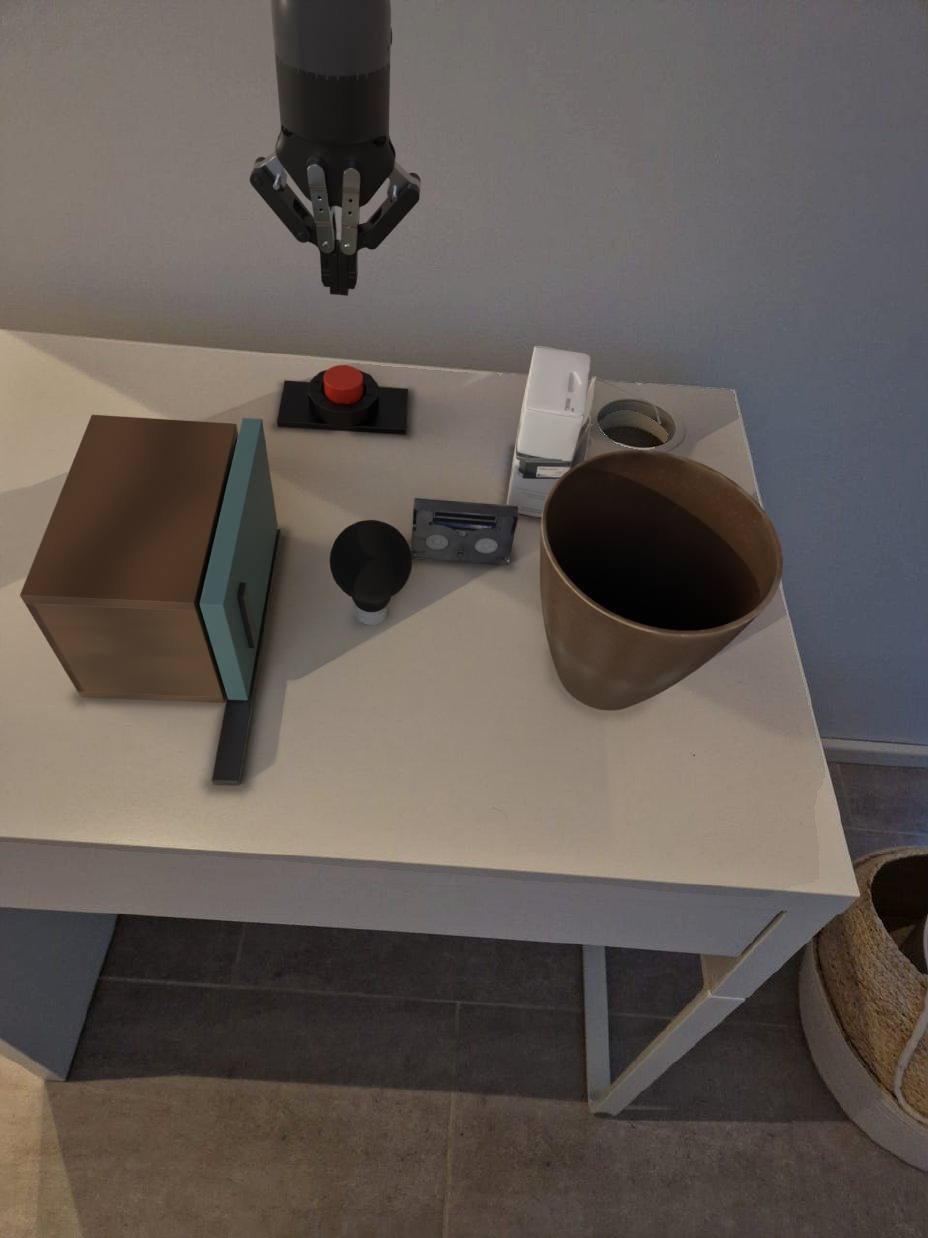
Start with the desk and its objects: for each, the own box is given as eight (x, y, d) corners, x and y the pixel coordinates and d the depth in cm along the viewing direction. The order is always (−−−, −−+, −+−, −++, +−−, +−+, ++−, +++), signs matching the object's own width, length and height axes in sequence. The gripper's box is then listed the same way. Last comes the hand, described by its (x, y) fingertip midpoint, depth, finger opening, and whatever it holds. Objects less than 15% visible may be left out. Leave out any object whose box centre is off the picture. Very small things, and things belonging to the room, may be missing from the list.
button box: (277, 428, 74) (274, 407, 72) (285, 384, 78) (283, 362, 76) (405, 436, 75) (406, 416, 73) (408, 392, 79) (408, 371, 77)
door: (227, 699, 56) (199, 604, 47) (260, 524, 66) (242, 417, 56) (254, 700, 56) (230, 605, 47) (282, 526, 66) (268, 419, 57)
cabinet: (55, 781, 52) (-18, 688, 43) (134, 526, 65) (92, 411, 56) (239, 786, 53) (209, 696, 44) (281, 534, 66) (265, 422, 57)
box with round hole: (577, 404, 80) (596, 364, 76) (655, 430, 81) (677, 392, 77) (563, 501, 72) (584, 462, 68) (649, 529, 73) (674, 492, 69)
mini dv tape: (507, 552, 68) (518, 502, 63) (508, 565, 67) (518, 516, 62) (411, 544, 67) (414, 494, 62) (410, 558, 66) (413, 508, 61)
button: (322, 403, 73) (321, 388, 72) (326, 378, 75) (325, 363, 74) (361, 406, 74) (361, 390, 72) (364, 381, 76) (364, 365, 74)
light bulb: (338, 586, 64) (333, 499, 56) (411, 592, 64) (416, 506, 56) (329, 646, 60) (321, 563, 52) (406, 652, 61) (410, 570, 53)
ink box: (513, 448, 75) (533, 340, 66) (564, 456, 75) (592, 350, 66) (503, 512, 70) (523, 406, 61) (558, 522, 70) (587, 417, 61)
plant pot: (680, 788, 56) (771, 668, 43) (481, 719, 58) (511, 585, 45) (710, 628, 65) (793, 488, 52) (536, 572, 67) (575, 424, 54)
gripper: (218, 57, 49) (252, 309, 63) (432, 81, 50) (418, 323, 64) (239, 12, 53) (266, 257, 67) (435, 35, 54) (421, 272, 68)
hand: (340, 289), depth 66 cm, fingers closed
